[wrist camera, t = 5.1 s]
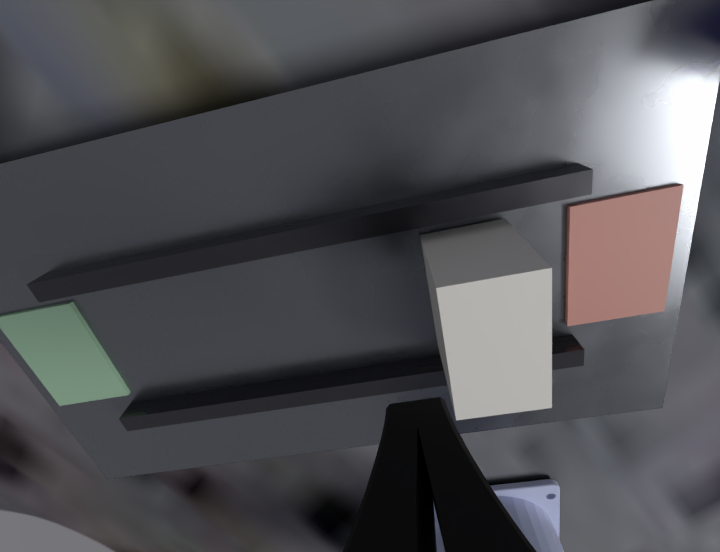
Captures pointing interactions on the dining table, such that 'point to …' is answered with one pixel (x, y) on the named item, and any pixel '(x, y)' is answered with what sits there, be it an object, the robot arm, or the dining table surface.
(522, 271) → the switch handle
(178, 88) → the dining table surface
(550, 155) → the breaker panel
